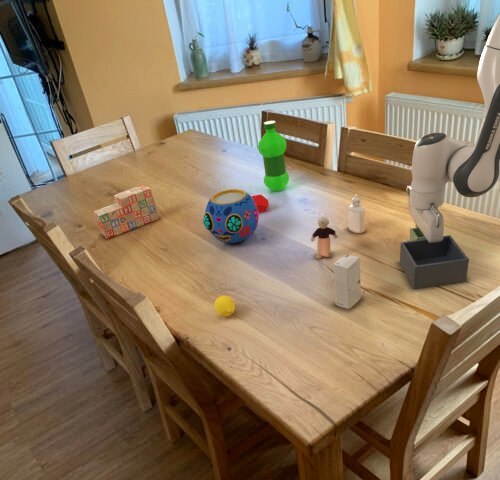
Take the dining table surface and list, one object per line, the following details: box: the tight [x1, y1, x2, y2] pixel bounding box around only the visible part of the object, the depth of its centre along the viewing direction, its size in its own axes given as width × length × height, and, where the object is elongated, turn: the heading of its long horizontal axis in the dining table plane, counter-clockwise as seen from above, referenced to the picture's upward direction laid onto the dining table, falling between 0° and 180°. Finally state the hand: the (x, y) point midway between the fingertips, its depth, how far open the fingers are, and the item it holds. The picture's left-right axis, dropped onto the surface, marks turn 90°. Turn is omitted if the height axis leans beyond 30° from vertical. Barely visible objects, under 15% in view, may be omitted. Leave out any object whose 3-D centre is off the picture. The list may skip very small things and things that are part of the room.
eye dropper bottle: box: [347, 193, 366, 234], centre depth 154 cm, size 4×6×12 cm
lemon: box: [213, 295, 236, 317], centre depth 131 cm, size 7×5×5 cm
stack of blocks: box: [93, 184, 160, 239], centre depth 183 cm, size 21×6×12 cm, turn 123°
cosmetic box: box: [332, 253, 362, 310], centre depth 125 cm, size 6×4×12 cm
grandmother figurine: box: [310, 216, 338, 259], centre depth 145 cm, size 8×4×13 cm, turn 99°
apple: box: [250, 194, 270, 214], centre depth 179 cm, size 7×7×8 cm
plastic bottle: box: [257, 120, 290, 192], centre depth 187 cm, size 10×10×25 cm
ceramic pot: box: [202, 188, 260, 244], centre depth 162 cm, size 18×18×15 cm
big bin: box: [399, 235, 470, 290], centre depth 132 cm, size 13×13×7 cm
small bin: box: [408, 227, 426, 241], centre depth 143 cm, size 6×6×5 cm
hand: (423, 242), depth 143 cm, fingers closed on small bin, 6 cm apart
